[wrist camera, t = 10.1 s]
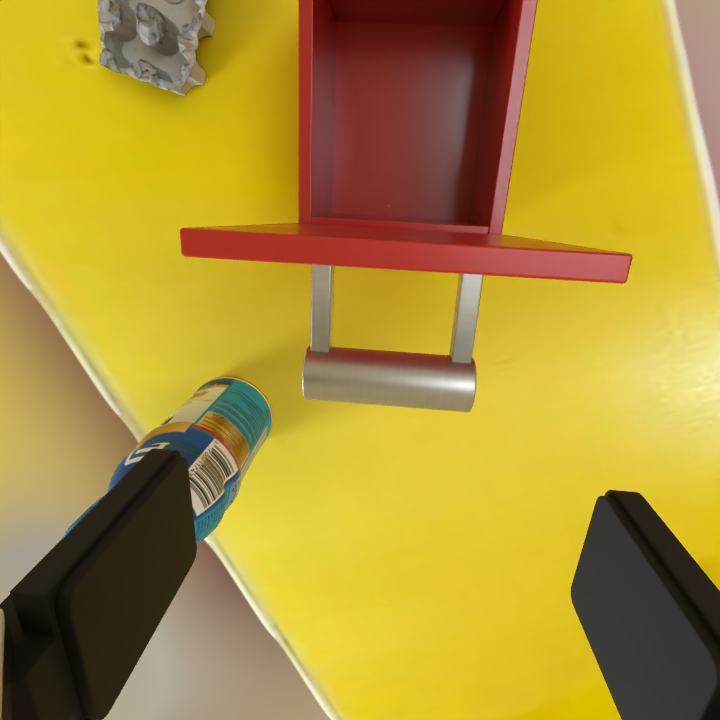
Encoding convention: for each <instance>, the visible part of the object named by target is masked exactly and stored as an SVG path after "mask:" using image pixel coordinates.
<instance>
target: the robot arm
mask: <svg viewBox="0 0 720 720" xmlns="http://www.w3.org/2000/svg"><path fill="white" fill-rule="evenodd" d="M196 551H197V545H196V535H195V525H194V516H193V507H192V497H191V488H190V478H189V469H188V462H187V459H186V458H185V457H181V454H180V452H179V451H177V450H168V449H157V448H154V449H151V450H150V451H148V452H147V453H146V455H145V456H144V457H143V458H142V459H141V460H140V461H139V462H138V463H137V464H136V465H135V466H134V467H133V468H132V469H131V470H130V471H129V472H128V473H127V474H126V475H125V476H124V477H123V478H122V479H121V480H120V481H119V482H118V483H117V484H116V485H115V486H114V487H113V488H112V489H111V490H110V491H109V492H108V493H107V494H106V495H105V496H104V497H103V498H102V499H101V500H100V501H99V502H98V503H97V504H96V505H95V506H94V507H93V508H92V509H91V510H90V511H89V512H88V513H87V514H86V515H85V516H84V517H83V518H82V519H81V520H80V521H79V522H78V523H77V524H76V525H75V526H74V527H73V528H72V529H71V530H70V531H69V532H68V533H67V535H66V536H65V537H64V538H63V539H62V540H61V541H60V542H59V543H58V544H57V545H56V546H55V547H54V548H53V549H52V550H51V551H50V552H49V553H48V554H47V555H46V556H45V557H44V558H43V559H42V560H41V561H40V562H39V563H38V564H37V565H36V566H35V567H34V568H33V569H32V570H31V571H30V572H29V573H28V574H27V575H26V576H25V577H24V578H23V579H22V580H21V581H20V582H19V583H18V584H17V585H16V586H15V587H14V588H13V589H12V590H11V591H10V595H9V596H8V597H7V598H6V599H5V600H4V601H3V602H2V603H1V604H0V720H102V719H104V717H106V715H107V714H108V713H109V711H110V710H111V708H112V706H113V704H114V702H115V700H116V699H117V697H118V696H119V694H120V692H121V690H122V689H123V687H124V685H125V683H126V681H127V680H128V678H129V676H130V674H131V673H132V671H133V669H134V667H135V665H136V664H137V662H138V660H139V658H140V657H141V655H142V653H143V651H144V649H145V648H146V646H147V644H148V642H149V640H150V639H151V637H152V635H153V634H154V632H155V630H156V628H157V626H158V625H159V623H160V621H161V619H162V617H163V616H164V614H165V612H166V610H167V609H168V607H169V605H170V603H171V602H172V600H173V598H174V596H175V595H176V593H177V591H178V589H179V587H180V586H181V584H182V582H183V580H184V579H185V577H186V575H187V573H188V572H189V570H190V568H191V566H192V564H193V562H194V560H195V556H196ZM571 598H572V603H573V606H574V608H575V610H576V613H577V615H578V618H579V620H580V622H581V625H582V627H583V629H584V632H585V634H586V636H587V639H588V641H589V643H590V646H591V648H592V650H593V653H594V655H595V658H596V660H597V662H598V665H599V667H600V669H601V672H602V674H603V676H604V679H605V681H606V683H607V686H608V688H609V691H610V693H611V695H612V698H613V700H614V702H615V705H616V707H617V709H618V712H619V714H620V716H621V719H622V720H720V591H719V590H718V589H717V587H716V586H715V585H714V584H713V582H712V581H711V580H710V579H709V578H708V576H707V575H706V574H705V573H704V571H703V570H702V569H701V568H700V566H699V565H698V564H697V563H696V561H695V560H694V559H693V558H692V557H691V555H690V554H689V553H688V552H687V550H686V549H685V548H684V547H683V545H682V544H681V543H680V542H679V540H678V539H677V538H676V537H675V536H674V534H673V533H672V532H671V531H670V529H669V528H668V527H667V526H666V524H665V523H664V522H663V521H662V520H661V518H660V517H659V516H658V515H657V513H656V512H655V511H654V510H653V508H652V507H651V506H650V505H649V503H648V502H647V501H646V500H645V499H644V497H643V496H642V495H641V494H640V493H637V492H627V491H616V490H609V491H607V492H606V494H605V496H599V497H598V499H597V501H596V504H595V507H594V511H593V514H592V518H591V521H590V525H589V528H588V531H587V535H586V538H585V542H584V545H583V548H582V552H581V555H580V559H579V562H578V566H577V569H576V572H575V576H574V579H573V583H572V587H571Z"/></svg>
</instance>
